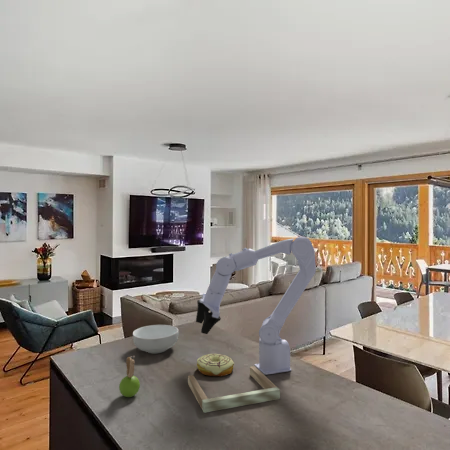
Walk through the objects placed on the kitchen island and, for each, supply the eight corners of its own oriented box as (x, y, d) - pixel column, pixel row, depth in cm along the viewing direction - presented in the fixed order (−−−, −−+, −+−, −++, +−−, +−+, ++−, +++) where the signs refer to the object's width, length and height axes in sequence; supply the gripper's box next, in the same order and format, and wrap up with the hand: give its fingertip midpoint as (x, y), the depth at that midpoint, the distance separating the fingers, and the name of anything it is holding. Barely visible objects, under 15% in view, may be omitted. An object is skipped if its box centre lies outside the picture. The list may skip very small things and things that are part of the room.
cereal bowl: (142, 341, 142) (142, 323, 142) (183, 343, 140) (183, 325, 140) (125, 357, 125) (124, 337, 125) (171, 359, 123) (171, 339, 123)
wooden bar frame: (254, 374, 111) (254, 366, 111) (279, 398, 95) (279, 389, 95) (188, 384, 104) (188, 375, 104) (203, 412, 88) (203, 402, 88)
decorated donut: (219, 382, 106) (219, 368, 106) (189, 372, 113) (189, 359, 113) (240, 369, 115) (240, 356, 115) (211, 361, 122) (211, 349, 122)
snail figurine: (122, 404, 93) (122, 358, 93) (117, 394, 98) (117, 350, 98) (143, 399, 95) (143, 354, 95) (137, 389, 101) (137, 347, 101)
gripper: (200, 279, 124) (186, 315, 125) (211, 296, 111) (195, 335, 112) (218, 285, 127) (204, 319, 128) (231, 301, 113) (215, 340, 114)
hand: (201, 327), depth 120 cm, fingers open, 7 cm apart
